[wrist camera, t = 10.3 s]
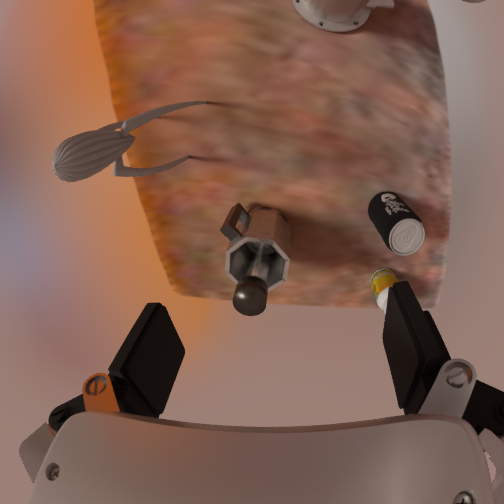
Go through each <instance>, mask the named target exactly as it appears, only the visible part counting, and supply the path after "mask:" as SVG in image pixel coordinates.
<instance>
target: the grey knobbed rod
mask: <svg viewBox="0 0 504 504" xmlns="http://www.w3.org/2000/svg"><path fill="white" fill-rule="evenodd" d="M245 243H246V246H247V247H248V248H249V250H251V251H252V252H254V253H256V258H255V262H254V267H253V271H252V276H245V277H243V278H241V279H240V280H239V281H238V283H237V287H236V290H235V294H234V297H233V305H234V307H235V309H236V310H237V311H238V312H239V313H241V314H243V315H247V316H255V315H258V314H260V313H262V312H263V311H264V310H265V308H266V302H267V294H268V286H267V284H266V282H265V281H264V280H263V279H261V278H260V277H258V275H259V269H260V264H261V258H262V255H267V254H270V253H272V252H274V251H275V250H276V249H275V248H274V247H273V246H272V245H271V244H267V243H259V242H251V241H247V242H245Z"/></svg>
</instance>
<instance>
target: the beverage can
mask: <svg viewBox="0 0 504 504" xmlns="http://www.w3.org/2000/svg"><path fill="white" fill-rule="evenodd" d="M368 214H369V217H370V219H371V221H372V222H373V224H374V226H375V227H376V229H377V231H378V232H379V234H380V236H381V237H382V239H383V241H384V242H385V244H386V246H387V247H388V248H389V249H390V250H391V251H393V252H395V253H396V254H399V255H402V256H406V255H410V254H413V253H415V252H416V251H417V250H418V249H419V248H420V247H421V246H422V244H423V242H424V238H425V231H424V228H423V223H422V221H421V219H420V218H419V217H418V216H417V215H416V214H415V213H414V212H413V211H412V210H411V209H410V208H409V207H408V206H407V205H406V204H405V203H404V202H403V201H402V200H401V199H400V198H399V197H398V196H397V195H396V194H394V193H392V192H381V193H379V194H377V195H376V196H374V197H373V199H372V200H371V202H370V204H369V208H368Z"/></svg>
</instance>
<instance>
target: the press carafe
mask: <svg viewBox="0 0 504 504" xmlns="http://www.w3.org/2000/svg"><path fill="white" fill-rule="evenodd" d="M238 219H239V221H238ZM237 222H238V224H237ZM236 224H237V226H236ZM220 231H221V232H222V233H223V234H224V235H225V236H226V237H227V238H228V239H229V240H230V243H229V245H228V248H227V250H226V266H225V274H226V275H227V276H228V277H229V278H230V279H231V280H232V281H233V282H234V283H235V284H236V285H237V283H238V281H239V280H240V279H241V278H243V277H245V276H252V271H253V267H254V262H255V258H256V253H254V252H252V251H251V250H249V248H248V247H247V246H246V243H245V242H247V241H251V242H259V243H267V244H271V245H272V246H273V247H274V248H275V249H276V250H275V251H274V252H272V253H270V254H267V255H262V258H261V264H260V269H259V275H258V277H260V278H261V279H263V280H264V281H265V282H266V284H267V286H268V292H270V291H271V290H273V289H275V288H276V287H278V286H280V285H281V284H283V283H285V282H286V281H287V275H288V269H289V263H290V224H289V223H288V221H287V220H286V218H285V217H284V216H283V215H282V214H281V213H280V212H279V211H278V210H277V209H273V208H268V207H254V208H253V209H252V210H250V211H248V212H246V211H245V209H244V208H243V207H242V205H241V204H240V203H237V204H236V205H235V206H234V207H232V208H231V210H230V212H229V214H228V216H227V218H226V220H225V222H224V224H223V225H222V227H221V229H220Z"/></svg>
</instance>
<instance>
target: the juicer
mask: <svg viewBox="0 0 504 504" xmlns="http://www.w3.org/2000/svg"><path fill="white" fill-rule="evenodd" d="M206 103H207V101H194V102H183V103H177V104H172V105H167V106H163V107H159V108H156V109H153V110H150V111H147V112H144V113H141V114H139V115H136V116H134V117H131V118H129V119H127V120H125V121H121V122H117V123H113V124H110V125H107V126H105V127H102V128H100V129H98V130H95V131H88V132H84V133H81V134H78V135H75V136H72V137H70V138H68V139H66V140H64V141H63V142H62V143H61V144H60V145H59V147H57V148H56V150H55V152H54V155H53V158H52V167H53V171H55V175H56V176H58V177H59V178H60V179H61V180H64V181H67V182H75V181H79V180H83V179H85V178H88V177H90V176H92V175H94V174H96V173H98V172H100V171H101V170H103V169H104V168H106V167H107V166H109V165H110V164H111V163H113V162H114V161H115V164H114V170H113V175H114V176H122V177H137V176H146V175H151V174H155V173H159V172H162V171H165V170H167V169H170V168H172V167H174V166H176V165H178V164H180V163H182V162H183V161H185V160H187V159H188V158H189V156H185V157H183V158H181V159H178V160H176V161H174V162H171V163H168V164H165V165H162V166H158V167H153V168H131V167H125V166H124V165H123V160H122V154H123V153H125V152H126V151H127V150H128V149H129V148H130V146H131V145H132V144H133V142H134V140H135V137H134V136H133V135H131V134H129V132H130V131H131V130H134V129H136V128H138V127H139V126H141V125H143V124H145V123H147V122H149V121H151V120H153V119H155V118H157V117H159V116H161V115H164V114H167V113H169V112H172V111H175V110H178V109H181V108H185V107H189V106H193V105H199V104H206ZM120 127H122V130H121V132H120V131H114V130H116V129H118V128H120Z"/></svg>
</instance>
